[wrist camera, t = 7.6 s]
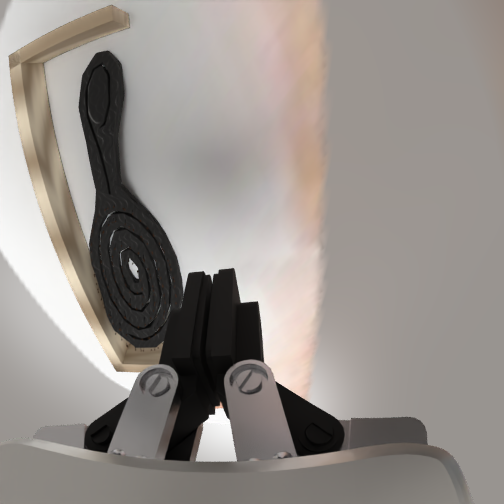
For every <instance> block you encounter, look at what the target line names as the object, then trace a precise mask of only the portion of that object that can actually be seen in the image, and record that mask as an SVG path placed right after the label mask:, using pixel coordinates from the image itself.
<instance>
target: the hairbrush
mask: <svg viewBox="0 0 504 504" xmlns="http://www.w3.org/2000/svg"><path fill="white" fill-rule="evenodd" d="M118 62H119V61H117V58H116V57H115V56H114V55H113V54H111V53H110V52H109V51H103V52H99V53H96V54H95V56H94V57H93V59H92V60H91V62H90V63H89V65H88V67H87V68H86V70H85V72H84V73H83V75H82V82H81V90H80V99H79V112H80V117H81V122H82V126H83V131H84V135H85V140H86V144H87V150H88V155H89V160H90V165H91V170H92V175H93V180H94V184H95V189H96V201H95V214H94V219H93V224H92V230H91V236H90V242H89V247H90V257H91V265H92V267H93V270H94V273H95V274H94V277H95V275H96V279H97V282H98V285H99V289H100V292H101V295H102V296H101V300H102V299H103V302H104V309H105V311H106V315H107V317H108V319H109V321H110V323H111V325H112V327H113V329H114V331H115V332H117V333H118V334H119V335H120V336H121V337H123V338H124V339H125V340H127V343H128V342H129V343H130V344H132V345H133V346H134V347H135V351H136V348H140V349H141V348H156V347H157V346H158V345H160V344H161V343H162V342H163V341H164V338H165V333H166V329H167V325H168V320H169V316H170V314H169V316H168V319H167V321H166V322H165V323H164V321H165V319H166V316H167V312H168V309H169V306H170V303H171V307H170V313H171V310H172V309H179V308H180V307H181V303H182V299H183V288H182V278H181V274H180V269H179V265H178V260H177V257H176V255H175V253H174V250H173V248H172V246H171V244H170V242H169V239H168V237H167V235H166V233H165V232H164V231H163V229H162V228H161V226H159V225H160V224H159V223H158V221H157V220H156V219H155V218H154V217H153V216H152V214H151V213H150V212H149V211H147V210H146V209H145V208H144V207H143V206H142V205H141V204H140V203H139V202H138V201H137V199H136V198H135V197H134V196H133V195H132V194H131V193H130V192H129V191H128V190H127V189H126V188H125V186H124V185H123V184H122V183H121V173H120V161H119V148H118V133H119V125H120V118H121V111H122V105H123V99H124V87H123V76H122V66H121V69H120V66H119V64H118ZM119 63H120V62H119ZM103 64H104V66H105V67H103V66H102V65H103ZM120 65H121V63H120ZM113 211H116V212H115V213H113V214H111V215H110V216H109V217H108V218H107V221H106V222H105V224H104V225H103V223H104V221H105V219H106V217H107V215H108V214H110V213H111V212H113ZM149 214H150V215H151V216H152V217H153V218H154V219H155V220H156V221H157V223H158V224H159V225H158V224H157V223H156V222H155V220H154V219H153V218H152V217H151V216H150V215H149ZM102 225H103V227H102ZM121 226H122V227H124V228H121ZM119 227H120V228H119ZM118 228H119V229H118ZM116 229H117V230H116ZM114 230H116V231H115V232H114V235H113V238H112V241H111V245H110V237H111V235H112V233H113V231H114ZM100 233H101V238H100ZM100 239H101V242H100ZM160 246H161V247H160ZM128 247H129V248H128ZM126 248H127V249H126ZM161 248H162V249H161ZM124 249H125V250H124ZM122 250H124V251H123V252H121V251H122ZM162 250H163V251H162ZM120 252H121V260H122V266H121V261H120ZM163 252H164V253H163ZM110 254H111V256H110ZM100 255H101V256H100ZM139 255H140V256H139ZM164 255H165V256H164ZM129 258H130V259H131V260H132V261H133V262H134V264H135V265H136V266H137V268H138V271H137V273H138V275H139V279H136V280H135V278H134V276H133V275H132V273H131V271H130V269H129V263H128V262H129ZM111 260H112V261H111ZM154 260H155V262H156V265H155V262H154ZM132 264H133V263H132ZM112 265H113V266H112ZM156 267H157V269H156ZM147 271H148V272H147ZM170 276H171V279H172V284H171V279H170ZM158 277H159V278H158ZM159 283H160V284H159ZM96 285H97V283H96ZM97 290H98V289H97ZM150 292H151V294H150ZM98 293H99V291H98ZM161 296H162V301H161ZM149 298H150V302H149V303H148V305H146V306H145V304H146V303H147V302H148V300H149ZM160 303H161V308H160V311H159V314H158V316H157V317H156V318H155V316H156V314H157V311H158V308H159V306H160ZM154 318H155V319H154ZM153 319H154V320H153ZM152 320H153V321H152ZM151 321H152V322H151ZM150 322H151V323H150ZM149 323H150V324H149ZM163 323H164V324H163ZM162 324H163V325H162ZM115 335H116V333H115ZM121 340H122V339H121ZM127 343H126V347H128V346H127ZM157 348H158V349H159V347H157ZM154 350H155V349H154ZM151 351H152V349H151ZM143 352H144V350H143Z"/></svg>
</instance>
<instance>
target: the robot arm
mask: <svg viewBox="0 0 504 504" xmlns="http://www.w3.org/2000/svg"><path fill="white" fill-rule="evenodd" d="M220 402H221V404H222V406H223V409H224V411H225V413H226V416H227V418H228V419H230V423H231V429H232V434H233V441H234V446H235V452H236V457H237V462H195V461H196V456H197V452H198V448H199V444H200V439H201V435H202V431H203V422H205V421H206V420H207V419H208V418H209V415H215V407H217V406H220ZM0 504H474V503H473V499H472V496H471V493H470V490H469V487H468V484H467V481H466V479H465V476H464V474H463V472H462V470H461V468H460V466H459V464H458V463H457V461H456V460H455V459H454V457H453V456H452V455H451V454H450V453H448V452H447V451H445V450H444V449H442V448H439V447H435V446H431V445H428V443H427V431H426V428H425V426H424V424H423V423H422V422H421V421H420V420H418V419H416V418H413V417H393V418H351V420H337V419H336V418H335V417H333V416H332V415H330V414H328V413H326V412H325V411H323V410H321V409H320V408H318V407H316V406H315V405H313V404H311V403H310V402H308V401H306V400H305V399H303V398H301V397H300V396H298V395H296V394H295V393H293V392H292V391H290V390H288V389H287V388H285V387H284V386H282V385H281V384H279V383H277V382H276V381H275V379H274V375H273V373H272V371H271V369H270V367H268V366H267V365H266V364H265V363H264V355H263V341H262V329H261V320H260V312H259V305H258V301H257V302H247V303H241V302H240V297H239V291H238V286H237V280H236V275H235V270H234V268H231V269H221V270H219V273H218V274H214V276H213V284H212V280H211V276H210V275H205V273H204V271H202V272H192V273H189V274H188V278H187V282H186V287H185V292H184V296H183V301H182V305H181V308H179V309H172V310H171V313H170V316H169V320H168V325H167V329H166V333H165V338H164V342H163V346H162V351H161V356H160V360H159V364H156V365H153V366H149V367H148V368H146V369H144V370H143V371H142V372H141V373H140V374H139V375H138V377H137V379H136V381H135V383H134V385H133V388H132V390H131V393H130V395H129V397H128V398H127V399H125V400H124V401H122V402H121V403H119V404H118V405H117V406H115V407H114V408H112V409H111V410H110V411H108V412H107V413H105V414H104V415H102V416H101V417H100V418H98V419H97V420H95V421H94V422H93V423H91V424H90V426H86V425H85V424H75V425H61V426H45V427H41V428H40V429H39V430H37V432H36V433H35V435H34V438H33V439H30V438H17V439H11V440H6V441H3V442H1V443H0Z"/></svg>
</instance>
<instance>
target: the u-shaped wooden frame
mask: <svg viewBox="0 0 504 504" xmlns="http://www.w3.org/2000/svg"><path fill="white" fill-rule="evenodd" d="M127 28H130V24H129V15H128V13H126V12H124V11H122V10H121V9H119V8H117V7H115V6H113V5H110V6H107V7H105V8H102V9H100V10H97V11H95V12H92V13H90V14H87V15H85V16H83V17H80V18H78V19H76V20H74V21H72V22H69V23H67V24H65V25H63V26H61V27H59V28H57V29H55V30H53V31H51V32H49V33H47V34H45V35H43V36H42V37H40V38H38V39H36V40H34V41H33V42H31V43H29V44H27V45H26V46H24V47H22V48H21V49H19V50H17V51H16V52H14V53H13V54H11V55H9V67H10V77H11V85H12V93H13V99H14V106H15V112H16V117H17V123H18V128H19V133H20V137H21V142H22V146H23V151H24V155H25V159H26V163H27V167H28V170H29V174H30V178H31V181H32V185H33V188H34V191H35V195H36V198H37V201H38V204H39V207H40V210H41V213H42V216H43V219H44V222H45V225H46V227H47V230H48V233H49V236H50V238H51V241H52V243H53V246H54V248H55V251H56V253H57V256H58V258H59V261H60V263H61V265H62V268H63V270H64V272H65V275H66V277H67V279H68V281H69V284H70V286H71V288H72V290H73V292H74V294H75V296H76V299H77V301H78V303H79V305H80V307H81V309H82V311H83V313H84V315H85V317H86V319H87V320H88V322H89V324H90V326H91V328H92V330H93V332H94V334H95V335H96V337H97V339H98V341H99V343H100V344H101V346H102V348H103V350H104V351H105V353H106V355H107V356H108V358H109V360H110V362H111V363H112V365H113V366H114V368H115V370H116V371H117V372H142V371H143V370H144V369H146V368H148V367H149V366H153V365H156V364H159V360H160V356H161V351H162V346H163V343H161V344H160V345H158V346H157V347H159V349H158V348H157V347H156V348H141V349H140V348H136V351H135V347H134V346H133V345H132V344H130V343H129V342H128V343H127V340H125V339H124V338H123V337H121V336H120V335H119V334H118V333H117V332H115V331H114V329H113V327H112V325H111V323H110V321H109V319H108V317H107V315H106V311H105V309H104V302H103V299H102V300H101V296H102V295H101V292H100V289H99V285H98V282H97V279H96V275H95V277H94V274H95V273H94V270H93V267H92V265H91V257H90V252H89V249H88V246H87V243H86V241H85V238H84V235H83V232H82V229H81V226H80V223H79V220H78V217H77V214H76V211H75V208H74V205H73V202H72V198H71V195H70V192H69V188H68V185H67V181H66V178H65V174H64V170H63V166H62V162H61V158H60V154H59V150H58V146H57V142H56V137H55V132H54V128H53V123H52V118H51V112H50V107H49V101H48V95H47V88H46V81H45V74H44V65H43V63H44V62H46V61H48V60H50V59H52V58H54V57H56V56H58V55H61V54H63V53H65V52H67V51H69V50H72V49H74V48H76V47H79V46H81V45H83V44H86V43H88V42H91V41H93V40H96V39H98V38H101V37H104V36H106V35H109V34H112V33H115V32H118V31H121V30H124V29H127ZM96 283H97V285H96ZM97 289H98V290H97ZM98 291H99V293H98ZM115 333H116V335H115ZM121 339H122V340H121ZM126 343H127V346H128V347H126ZM151 349H152V351H151ZM154 349H155V350H154ZM143 350H144V352H143Z"/></svg>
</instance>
